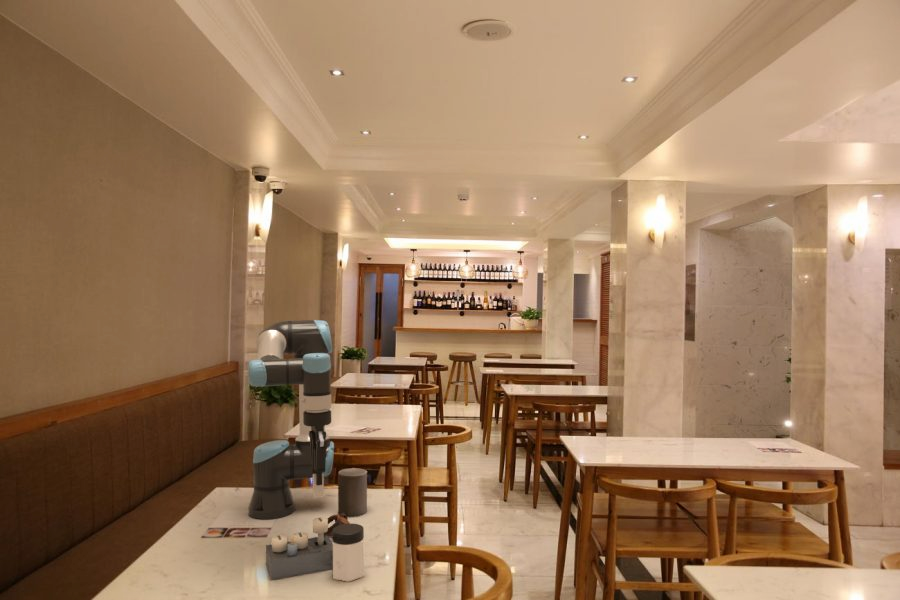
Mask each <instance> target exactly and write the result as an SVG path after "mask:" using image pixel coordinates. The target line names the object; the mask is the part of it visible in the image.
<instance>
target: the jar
mask: <svg viewBox="0 0 900 600" xmlns="http://www.w3.org/2000/svg"><path fill="white" fill-rule="evenodd" d="M349 523H350V524H342V525H338V526H336V527H335V528H333V530H332V538H331V539H332V540H331V541H332V543H333V569H332V578H333V580H337V581H341V580H342V582H347V583H348V582H351V581H355V580H358V579H361V578H363V577H364V576H365V575H364V573H365V571H364V570H365V569H364V567H365V566H364V565H365V563H364V560H365V559H364V557H365V556H364V537H365V534H364V533H365V531H364V526H363V525H361V524H358V523H351V522H349Z"/></svg>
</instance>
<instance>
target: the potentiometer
mask: <svg viewBox="0 0 900 600" xmlns="http://www.w3.org/2000/svg"><path fill="white" fill-rule="evenodd" d="M290 541H291V543H290V544H288V555H289V556H294V555H297V543H294V537H293V536H290Z"/></svg>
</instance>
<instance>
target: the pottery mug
mask: <svg viewBox="0 0 900 600" xmlns="http://www.w3.org/2000/svg"><path fill="white" fill-rule="evenodd" d="M326 518H327V519H328V525H330V523H332V522H334V523H333V524H332V525H330V526H328V531H327V532H325V533H324V536H327V535H328V537H329V538H330V537H332V530H333V528H335V527H336V526H338V525H342V524H350V523H351V522H350V521H349V517H347V516H346V514H344V513H341V514H338V513H335V514H333V515H330V516H329V517H326Z"/></svg>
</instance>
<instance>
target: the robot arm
mask: <svg viewBox="0 0 900 600" xmlns="http://www.w3.org/2000/svg"><path fill="white" fill-rule="evenodd" d="M255 343H256V349H257V351H258V355H257V359H252V360H250V361H249V362H248V370H247V371H248V384H249V386H251V387H262V388H263V387H274V386H276V387H279V386H292V385H293V386H294V385H295V386H297V385H298V395H299V396H298V398H299V399H298V400H299V403H298V405H299V406H298V407H299V412H298V414H299V434H298V435H297V436H296V438H295V441H294V443H295V444H290V442H289V441H288V440H286V439H278V440H272V441H267V442H264V443H261V444H259V445H258V446H256V447H255V448H254V450H253V456H252V457H253V460H252V463H253V492H252V495H251V498H250V502H249V505H248V516H249V515H250V517H251V518H253V519H257V518H258V519H259V520H273V518H274V519H279V518H284V517H286V516H288V515H291V514H292V513H294V511H296V509H295V508H296V503H295V499H294V498H293V494H292V491H291V489H290V480H303V479H312V497H313V498H318V497H319V498H320V497H324V496H325V490H324V489H325V484H324V483H325V482H324V481H325V477H328V476H329V475H330V474H331V472H332V469H333V465H334V456H335V455H334V454H335V452H334V451H335V443H334V442H333V441H332V440H331V439H330V435H328V434H327V432H326V426H329V425H330V424H331V423H332V410H331V409H332V391H331V388H332V386H331V382H332V381H331V380H332V376H331V372H332V371H331V369H332V364H331V363H332V362H331V356H330V354H332V353H333V345H332V344H333V342H332V337H331V330H330V326H329V323H328V322H327V321H326V320H319V319H311V320H310V319H309V320H307V319H306V320H303V319H302V320H281V321H278V322H274V323H271V324H270V325H268V326H266V327H265V328H263V329H262V331H260V333H259V334H258V336H257V338H256V342H255ZM284 355H293V358H284ZM330 440H331V441H330ZM258 519H257V520H258Z"/></svg>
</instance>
